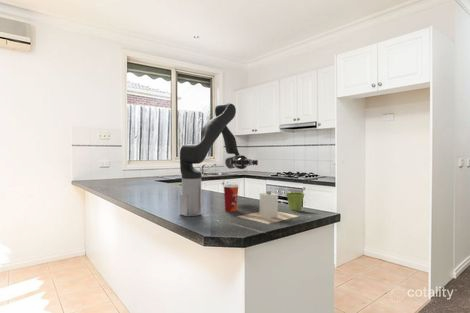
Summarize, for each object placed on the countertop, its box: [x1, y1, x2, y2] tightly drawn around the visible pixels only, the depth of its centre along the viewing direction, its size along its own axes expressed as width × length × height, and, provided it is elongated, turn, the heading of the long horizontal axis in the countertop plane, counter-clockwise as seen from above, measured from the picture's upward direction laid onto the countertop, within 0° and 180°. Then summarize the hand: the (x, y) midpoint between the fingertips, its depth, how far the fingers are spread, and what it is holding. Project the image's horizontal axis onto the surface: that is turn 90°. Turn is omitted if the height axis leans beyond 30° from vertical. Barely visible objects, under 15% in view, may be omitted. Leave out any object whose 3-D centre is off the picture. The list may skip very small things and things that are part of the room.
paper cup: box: [223, 182, 240, 213], centre depth 141 cm, size 8×8×14 cm
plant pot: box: [285, 192, 305, 212], centre depth 145 cm, size 9×9×9 cm
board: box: [236, 211, 299, 225], centre depth 128 cm, size 22×18×1 cm
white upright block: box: [259, 190, 279, 218], centre depth 128 cm, size 6×6×11 cm
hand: (246, 162), depth 144 cm, fingers open, 8 cm apart
